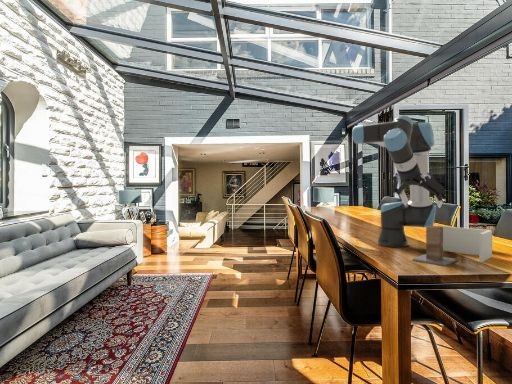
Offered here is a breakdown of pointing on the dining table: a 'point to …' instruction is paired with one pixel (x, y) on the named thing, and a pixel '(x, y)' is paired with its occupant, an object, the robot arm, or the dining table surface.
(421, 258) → the coaster
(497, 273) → the dining table surface
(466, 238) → the cubby
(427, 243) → the walnut block
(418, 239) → the dining table surface
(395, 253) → the dining table surface
